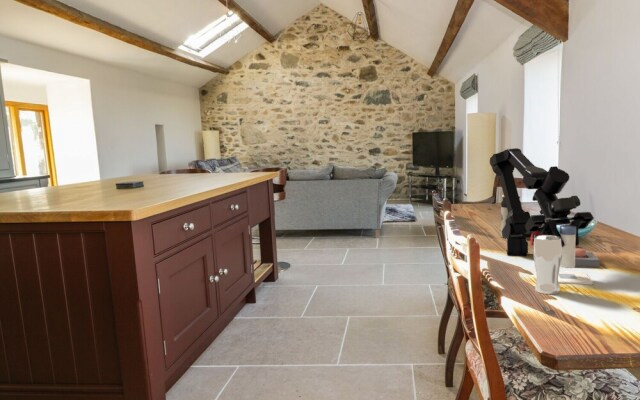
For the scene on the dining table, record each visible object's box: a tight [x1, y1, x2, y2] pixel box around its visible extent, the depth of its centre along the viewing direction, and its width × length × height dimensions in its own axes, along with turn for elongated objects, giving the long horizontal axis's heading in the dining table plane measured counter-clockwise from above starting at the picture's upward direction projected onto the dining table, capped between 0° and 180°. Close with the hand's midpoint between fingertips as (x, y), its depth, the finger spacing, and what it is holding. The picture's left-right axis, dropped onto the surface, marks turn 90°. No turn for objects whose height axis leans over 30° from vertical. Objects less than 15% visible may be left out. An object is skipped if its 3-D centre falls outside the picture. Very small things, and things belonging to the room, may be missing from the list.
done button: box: [575, 247, 587, 258], centre depth 147 cm, size 4×4×3 cm
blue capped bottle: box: [559, 225, 576, 269], centre depth 131 cm, size 4×4×12 cm
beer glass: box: [532, 235, 562, 295], centre depth 122 cm, size 7×7×15 cm
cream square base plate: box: [558, 270, 594, 286], centre depth 132 cm, size 11×11×1 cm
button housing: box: [575, 251, 600, 269], centre depth 147 cm, size 10×10×2 cm
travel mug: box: [500, 194, 522, 237], centre depth 189 cm, size 8×8×18 cm
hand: (570, 245), depth 130 cm, fingers closed on blue capped bottle, 4 cm apart
